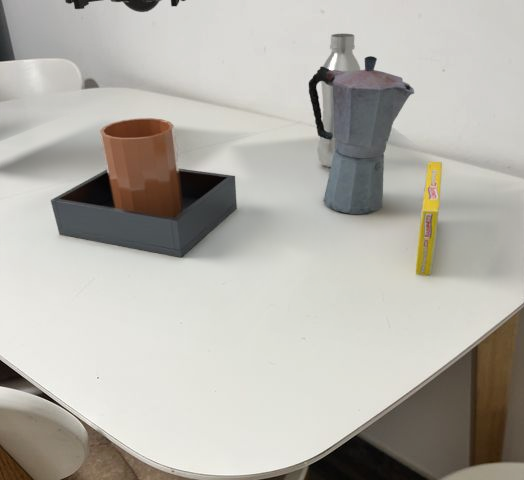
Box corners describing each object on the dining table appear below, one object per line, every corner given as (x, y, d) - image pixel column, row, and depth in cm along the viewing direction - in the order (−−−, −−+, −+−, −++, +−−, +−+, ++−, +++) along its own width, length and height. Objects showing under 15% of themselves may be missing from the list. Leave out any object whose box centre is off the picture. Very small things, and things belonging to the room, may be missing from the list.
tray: (59, 234, 79) (50, 200, 76) (127, 192, 91) (121, 160, 88) (181, 257, 73) (176, 221, 70) (236, 208, 85) (235, 175, 82)
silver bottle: (347, 157, 102) (355, 30, 90) (360, 170, 97) (370, 37, 84) (312, 161, 101) (315, 33, 89) (323, 174, 96) (329, 40, 83)
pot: (103, 222, 80) (85, 134, 72) (140, 198, 86) (127, 115, 79) (161, 232, 76) (147, 142, 69) (194, 206, 83) (186, 121, 76)
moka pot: (388, 224, 79) (406, 66, 67) (290, 205, 85) (290, 57, 73) (410, 200, 86) (430, 52, 74) (317, 184, 92) (321, 45, 80)
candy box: (419, 219, 80) (428, 160, 75) (435, 220, 80) (444, 161, 75) (412, 274, 68) (422, 208, 63) (431, 276, 67) (442, 210, 62)
